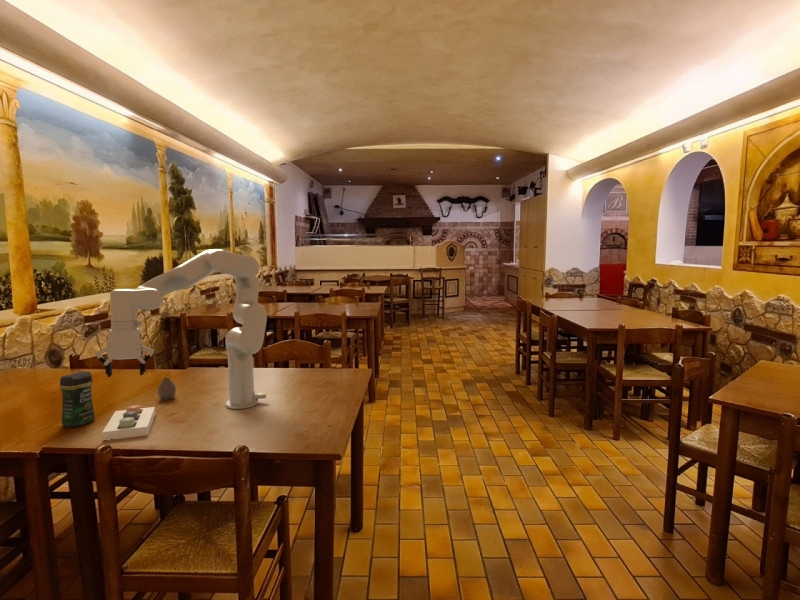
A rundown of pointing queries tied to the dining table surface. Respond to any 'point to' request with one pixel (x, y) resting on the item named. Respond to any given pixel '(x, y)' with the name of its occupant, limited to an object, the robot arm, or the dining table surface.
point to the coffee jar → (77, 399)
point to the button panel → (139, 430)
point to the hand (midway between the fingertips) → (126, 375)
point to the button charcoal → (131, 414)
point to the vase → (166, 389)
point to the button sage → (127, 422)
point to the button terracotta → (134, 408)
